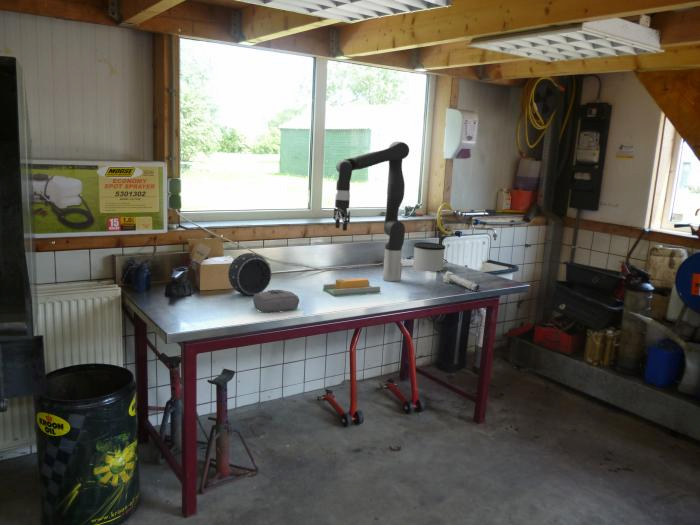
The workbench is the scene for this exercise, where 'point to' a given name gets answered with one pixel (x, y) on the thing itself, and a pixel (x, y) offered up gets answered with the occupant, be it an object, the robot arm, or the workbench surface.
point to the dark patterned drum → (249, 274)
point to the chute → (351, 283)
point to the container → (428, 256)
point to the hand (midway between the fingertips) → (340, 229)
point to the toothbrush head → (460, 281)
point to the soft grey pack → (275, 301)
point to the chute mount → (350, 290)
